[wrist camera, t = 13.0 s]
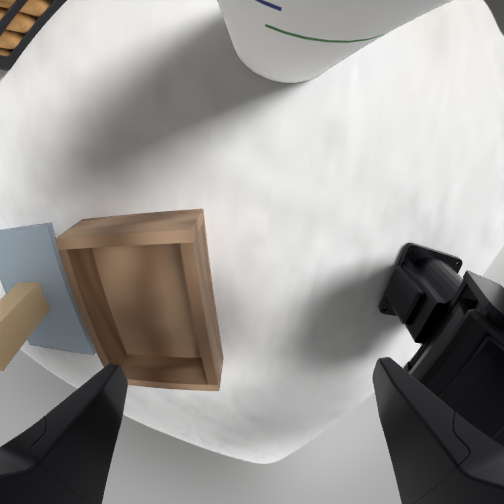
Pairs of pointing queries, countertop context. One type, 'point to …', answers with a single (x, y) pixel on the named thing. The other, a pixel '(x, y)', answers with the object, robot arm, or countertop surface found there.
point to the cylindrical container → (310, 31)
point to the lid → (37, 295)
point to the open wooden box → (147, 296)
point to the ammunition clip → (22, 25)
